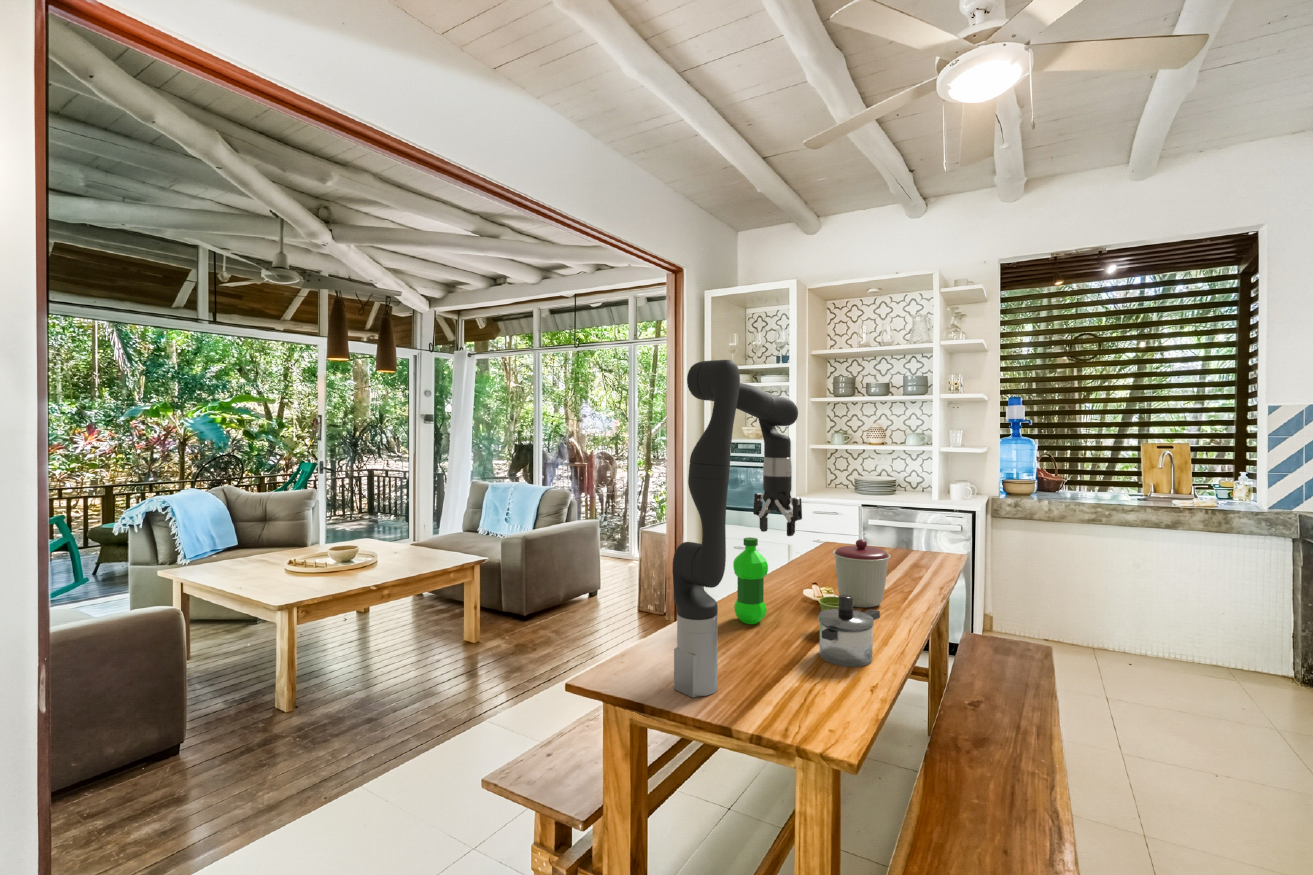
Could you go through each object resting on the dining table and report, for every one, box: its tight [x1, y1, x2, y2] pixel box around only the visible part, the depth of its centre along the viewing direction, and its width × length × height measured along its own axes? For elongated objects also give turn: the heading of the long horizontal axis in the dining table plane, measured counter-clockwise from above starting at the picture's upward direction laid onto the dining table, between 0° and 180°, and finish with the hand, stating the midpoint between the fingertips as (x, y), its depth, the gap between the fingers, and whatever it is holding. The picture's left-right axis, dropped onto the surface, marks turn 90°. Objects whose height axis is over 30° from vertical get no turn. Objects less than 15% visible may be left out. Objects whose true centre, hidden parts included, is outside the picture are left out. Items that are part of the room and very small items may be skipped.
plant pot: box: [817, 595, 839, 612], centre depth 181 cm, size 9×9×9 cm
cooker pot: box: [819, 608, 881, 668], centre depth 164 cm, size 25×13×9 cm, turn 133°
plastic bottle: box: [732, 536, 769, 625], centre depth 189 cm, size 10×10×25 cm
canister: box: [832, 539, 892, 608], centre depth 206 cm, size 18×18×21 cm
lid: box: [817, 594, 875, 631], centre depth 161 cm, size 14×14×6 cm
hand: (777, 533), depth 170 cm, fingers open, 8 cm apart
